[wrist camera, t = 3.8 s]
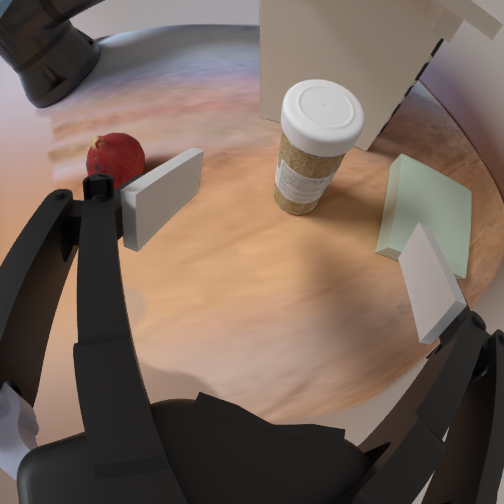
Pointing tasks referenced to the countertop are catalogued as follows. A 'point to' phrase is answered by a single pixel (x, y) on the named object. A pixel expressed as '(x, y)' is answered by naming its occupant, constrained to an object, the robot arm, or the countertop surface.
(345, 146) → the sprinkles bottle
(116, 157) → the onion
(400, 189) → the pedestal
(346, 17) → the white t-shaped stand
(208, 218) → the countertop surface
